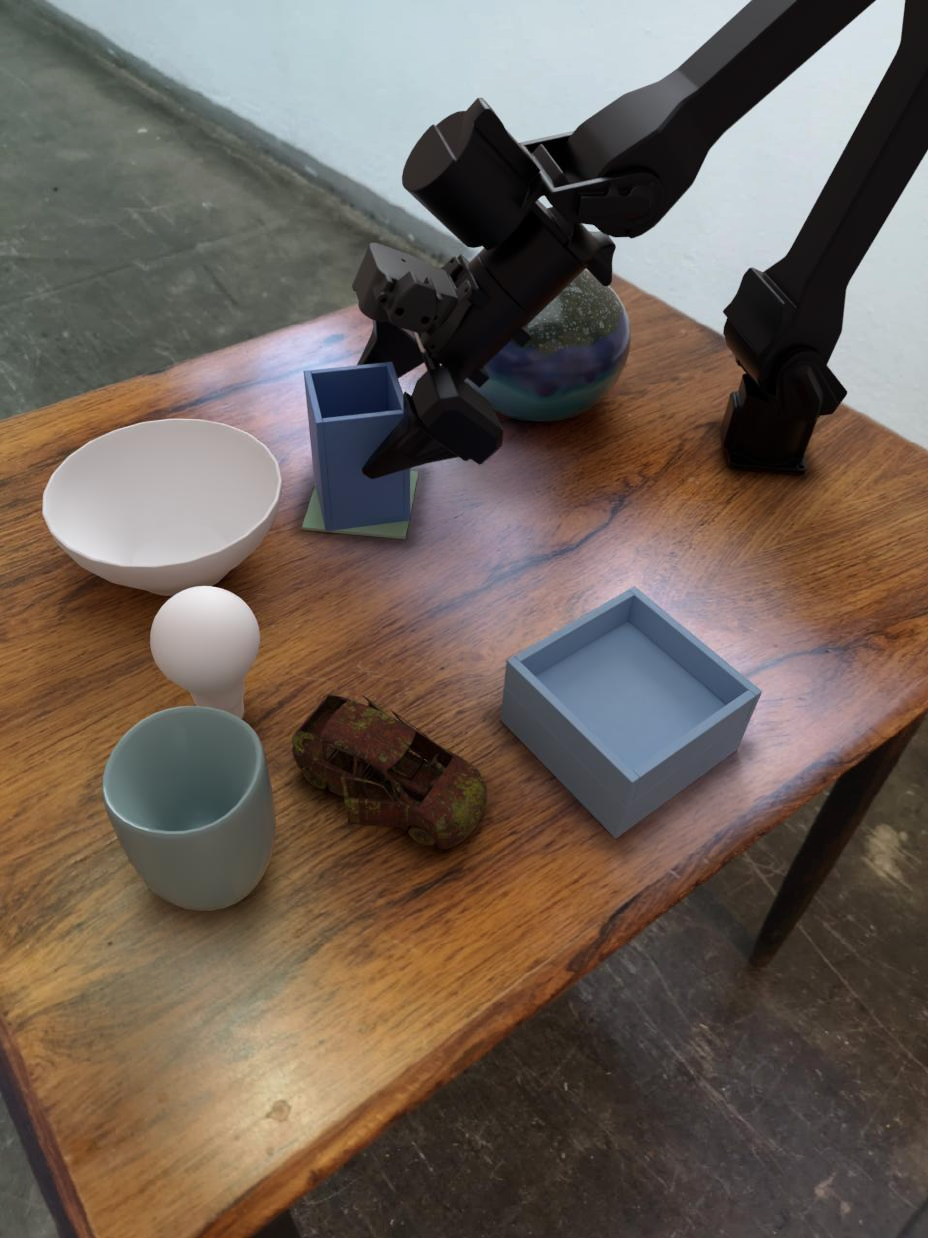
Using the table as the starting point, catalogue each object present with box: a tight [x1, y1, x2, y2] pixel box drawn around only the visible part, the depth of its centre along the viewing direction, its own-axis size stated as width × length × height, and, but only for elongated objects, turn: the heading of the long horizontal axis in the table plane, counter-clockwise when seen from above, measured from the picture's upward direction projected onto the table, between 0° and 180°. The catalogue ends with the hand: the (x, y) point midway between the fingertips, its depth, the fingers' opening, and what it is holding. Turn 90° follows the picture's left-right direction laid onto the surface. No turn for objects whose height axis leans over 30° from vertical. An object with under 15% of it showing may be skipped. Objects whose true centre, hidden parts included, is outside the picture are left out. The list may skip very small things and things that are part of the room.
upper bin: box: [303, 362, 411, 531], centre depth 72 cm, size 7×7×10 cm
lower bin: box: [500, 585, 763, 839], centre depth 59 cm, size 11×11×6 cm
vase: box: [465, 269, 632, 423], centre depth 82 cm, size 15×15×13 cm
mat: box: [301, 470, 419, 540], centre depth 76 cm, size 8×8×1 cm
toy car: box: [291, 694, 488, 850], centre depth 56 cm, size 12×7×5 cm, turn 60°
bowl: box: [41, 418, 283, 597], centre depth 68 cm, size 16×16×7 cm
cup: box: [101, 705, 277, 912], centre depth 50 cm, size 8×8×10 cm
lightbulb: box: [149, 586, 261, 720], centre depth 57 cm, size 6×6×11 cm
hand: (355, 436), depth 71 cm, fingers open, 9 cm apart
